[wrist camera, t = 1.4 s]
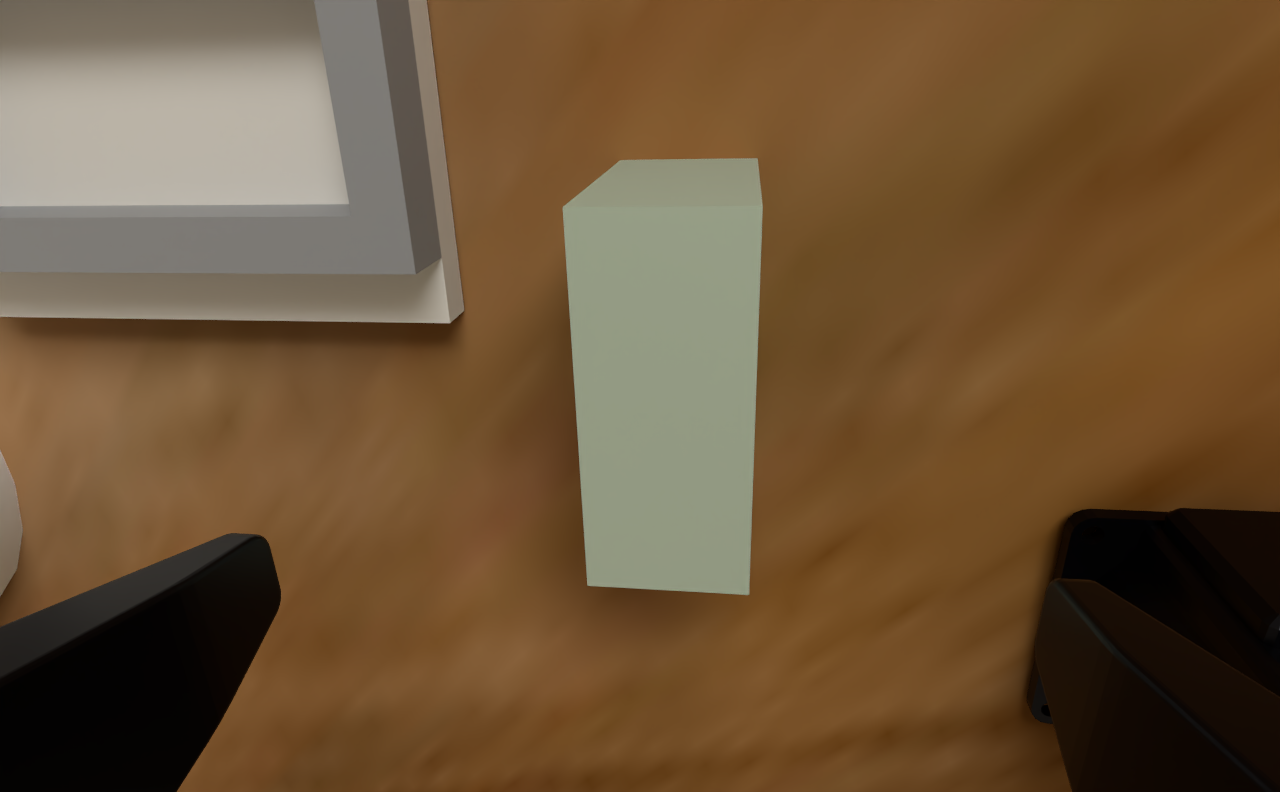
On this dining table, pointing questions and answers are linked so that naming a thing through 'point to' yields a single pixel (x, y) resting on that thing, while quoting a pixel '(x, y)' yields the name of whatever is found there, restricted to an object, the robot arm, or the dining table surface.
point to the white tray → (223, 162)
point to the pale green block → (666, 370)
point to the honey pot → (8, 526)
